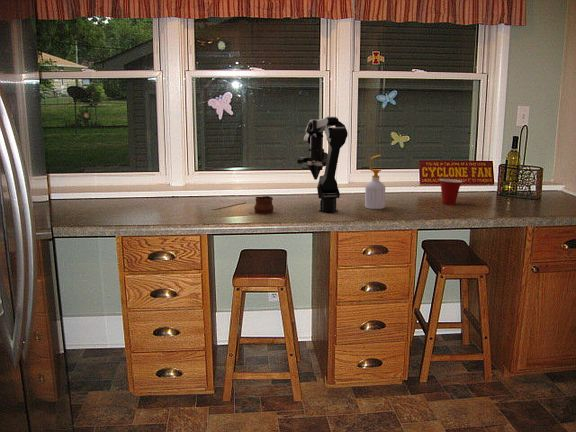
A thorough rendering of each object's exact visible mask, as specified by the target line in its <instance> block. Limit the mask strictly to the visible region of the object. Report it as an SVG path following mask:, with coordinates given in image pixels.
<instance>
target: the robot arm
mask: <svg viewBox="0 0 576 432" xmlns="http://www.w3.org/2000/svg"><path fill="white" fill-rule="evenodd" d="M304 131H305V135H304V137H303V142H304V144H305V145H308V146H309V148H308V152H309V157H308V156H301V157H299V156H298V157H297V159H296V164H300V165H301V164H304V163H307V164H306V167H307V168H308V169H309V171H310V172H311V175H312V177H313V180H315V181H316V180H318V184H317V187H316V191H317V197H318V199H320V203H319V204H320V205H319V206H320V207H319V210H318V211H319V212H322V213H328V214H331V213H335V212H338V211H339V209H337V199H340V196H341V194H340V189H339V186H338V181H337V180H336V178H335V177H336V173H337V167H338V162H339V156H340V151H341V148H342V147H343V146H344V145H345V144H346V141H347V138H348V136H349V135H348V129H347V128H346V125H345V124H344V123H342V122H341V121H340V120H339V118H338V117H336V116H327V117H324V118H322V119H309V121H308V122H307V125H306V127H305V130H304ZM323 133H324V134H325V136H326V140H327V143H328V152H325V148H323V138H324V135H323ZM323 168H325V169H324V172H323V175H320V172H321V171H322V169H323ZM319 175H320V176H319ZM318 178H319V179H318Z"/></svg>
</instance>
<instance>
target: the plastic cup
mask: <svg viewBox="0 0 576 432" xmlns="http://www.w3.org/2000/svg"><path fill="white" fill-rule="evenodd" d="M439 182H440V189H441V191H440V192H441V199H442V204H443V205H449V206H453V205H456V202H457V198H458V195H459V191H460V187H461V185H462V183H463V180H459V179H452V178H439Z"/></svg>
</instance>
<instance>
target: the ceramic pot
mask: <svg viewBox="0 0 576 432" xmlns="http://www.w3.org/2000/svg"><path fill="white" fill-rule="evenodd" d="M273 199H274V197H272V196H269V195H266V196H255V204H254V207H253V209H254V211H255V213H256V214H260V213H261V214H262V215H263V214H264V215H266V214H268V213H269V214H273V213H274V210H275V208H274V204H273ZM272 212H273V213H272ZM261 214H260V215H261Z"/></svg>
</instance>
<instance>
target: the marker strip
mask: <svg viewBox="0 0 576 432" xmlns="http://www.w3.org/2000/svg"><path fill="white" fill-rule="evenodd" d="M243 204H247V202H246V201H242V202H237V203H234V204H229V205H223V206H218V207H215V208H212V209H211V210H213V211H216V210H220V209H225V208H230V207H233V206H235V207H236V206H238V205H243Z"/></svg>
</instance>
